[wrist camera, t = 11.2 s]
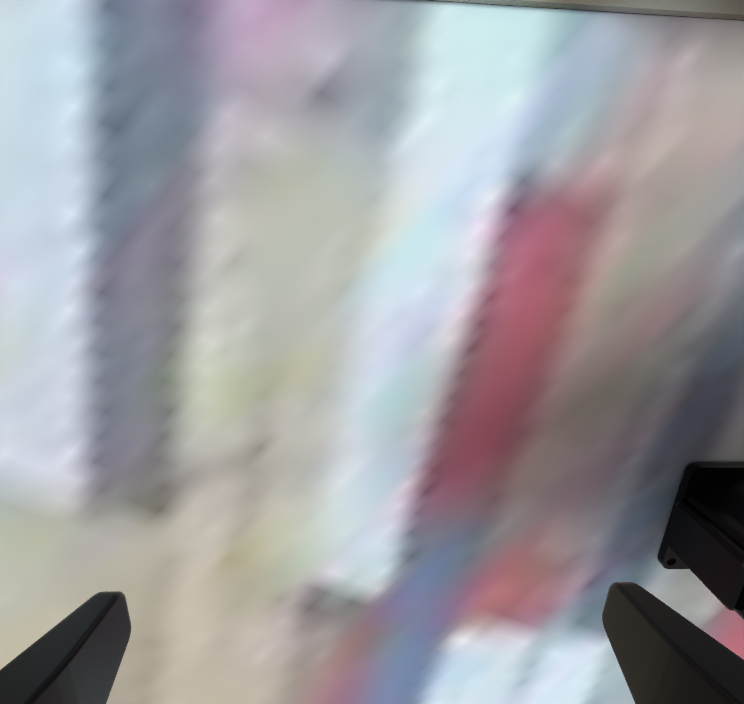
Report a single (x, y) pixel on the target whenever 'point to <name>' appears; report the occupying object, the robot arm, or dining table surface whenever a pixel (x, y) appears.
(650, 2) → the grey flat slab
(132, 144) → the dining table surface
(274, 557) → the dining table surface
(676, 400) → the dining table surface
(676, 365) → the dining table surface
